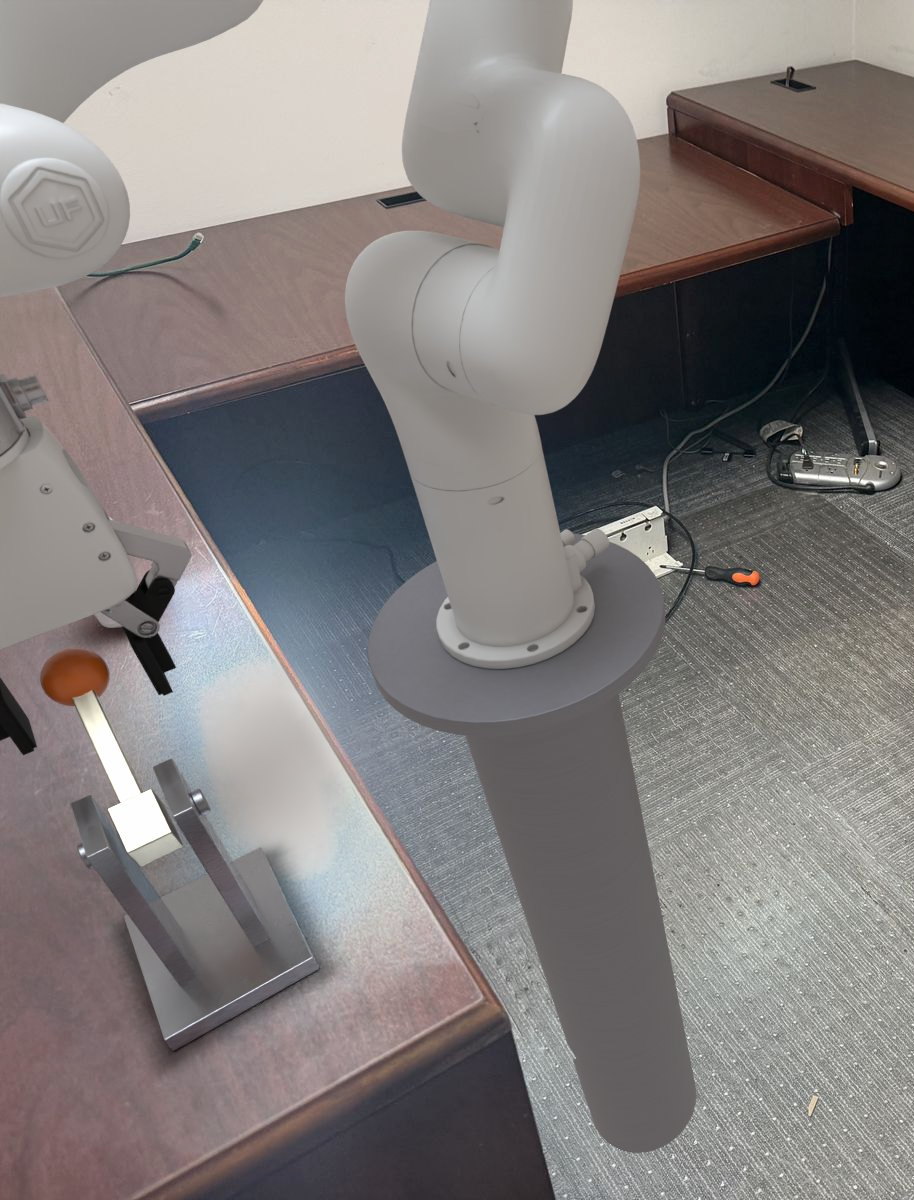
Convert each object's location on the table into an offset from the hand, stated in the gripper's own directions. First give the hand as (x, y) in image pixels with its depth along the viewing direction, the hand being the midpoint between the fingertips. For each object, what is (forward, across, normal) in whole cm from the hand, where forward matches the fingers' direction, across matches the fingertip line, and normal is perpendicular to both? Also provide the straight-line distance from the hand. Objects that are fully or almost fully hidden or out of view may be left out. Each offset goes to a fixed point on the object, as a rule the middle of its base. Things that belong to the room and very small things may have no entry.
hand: (94, 707), depth 61 cm
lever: (+1, 0, +4) cm, 4 cm away
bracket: (+13, 0, +9) cm, 16 cm away
